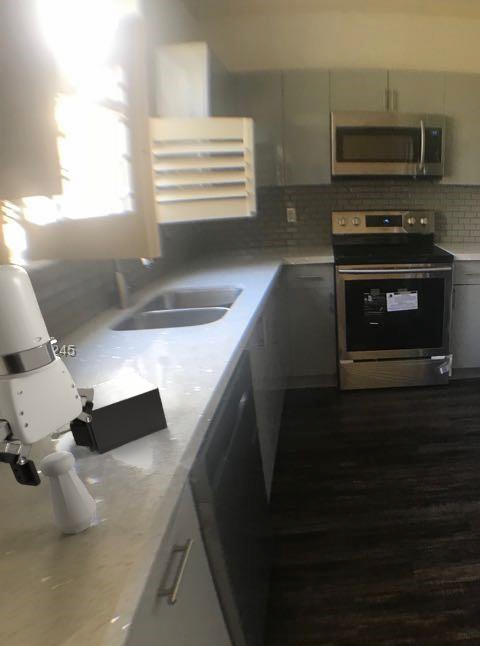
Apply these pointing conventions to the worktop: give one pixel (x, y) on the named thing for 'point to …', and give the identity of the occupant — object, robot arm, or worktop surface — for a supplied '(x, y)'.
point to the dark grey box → (125, 411)
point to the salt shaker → (67, 494)
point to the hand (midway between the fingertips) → (60, 463)
